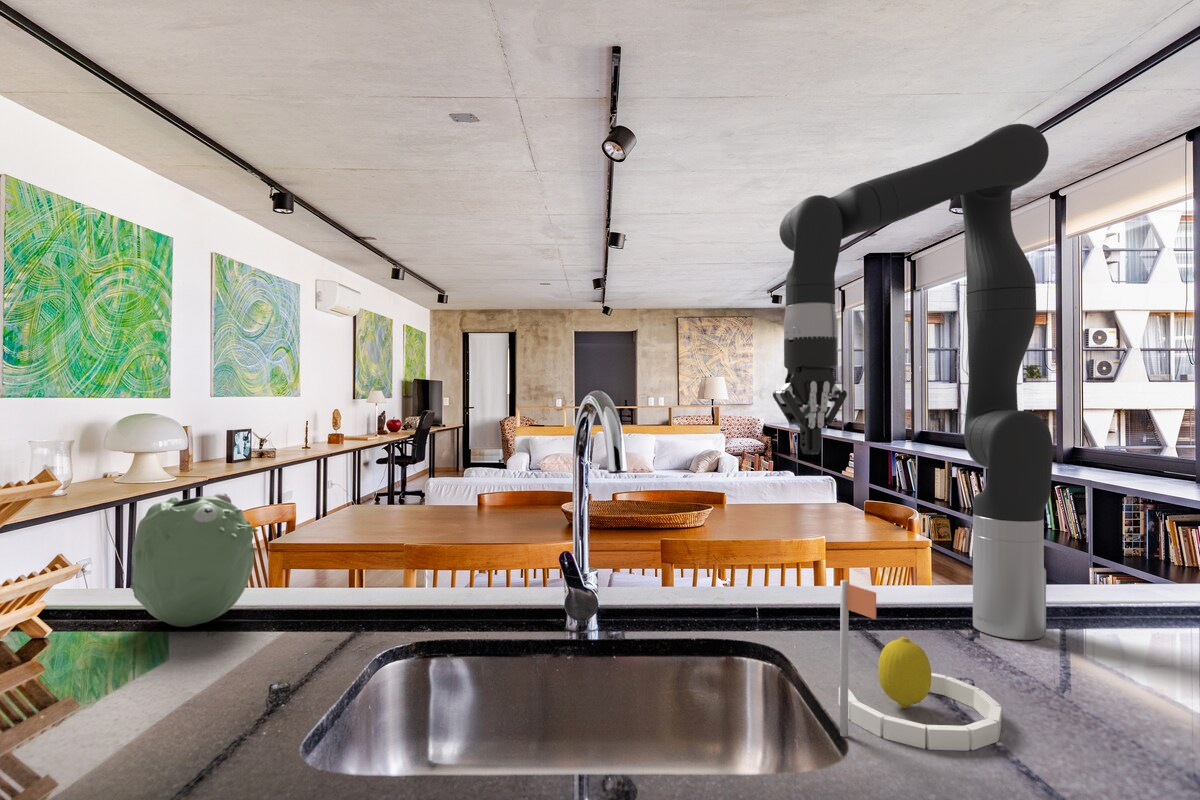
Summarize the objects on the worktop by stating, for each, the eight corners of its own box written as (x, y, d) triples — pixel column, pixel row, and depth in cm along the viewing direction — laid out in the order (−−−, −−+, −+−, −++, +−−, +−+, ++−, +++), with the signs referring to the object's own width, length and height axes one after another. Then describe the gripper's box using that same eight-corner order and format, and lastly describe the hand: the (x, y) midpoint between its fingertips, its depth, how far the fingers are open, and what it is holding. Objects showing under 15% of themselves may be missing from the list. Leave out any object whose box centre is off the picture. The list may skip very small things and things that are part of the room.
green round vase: (172, 606, 116) (172, 486, 116) (279, 610, 114) (279, 488, 114) (94, 638, 100) (94, 500, 100) (216, 644, 98) (216, 503, 98)
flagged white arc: (922, 681, 86) (922, 552, 86) (1033, 729, 74) (1034, 578, 73) (802, 713, 77) (802, 569, 77) (906, 773, 65) (906, 601, 65)
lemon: (937, 721, 75) (938, 647, 75) (884, 716, 76) (884, 643, 76) (923, 699, 81) (923, 630, 81) (873, 695, 82) (873, 627, 82)
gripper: (824, 340, 109) (824, 450, 109) (758, 337, 103) (758, 453, 103) (862, 336, 102) (862, 453, 102) (794, 332, 96) (794, 457, 96)
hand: (810, 453), depth 103 cm, fingers closed
